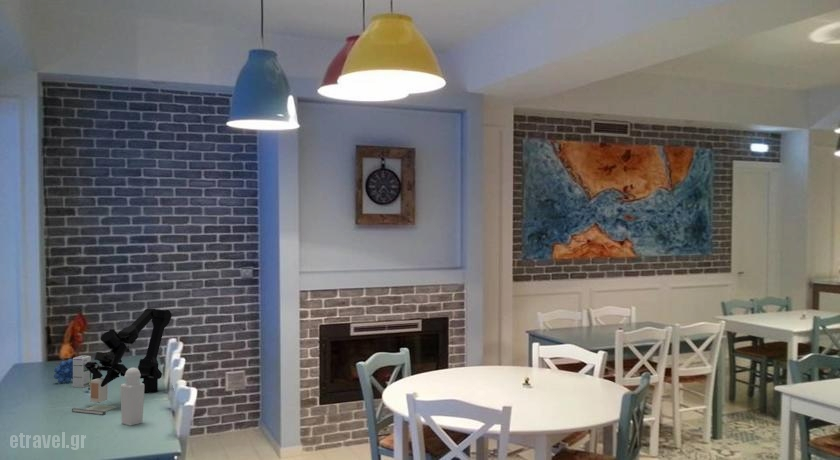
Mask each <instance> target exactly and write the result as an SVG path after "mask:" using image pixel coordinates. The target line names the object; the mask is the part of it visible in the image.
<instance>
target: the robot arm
mask: <svg viewBox="0 0 840 460" xmlns="http://www.w3.org/2000/svg"><path fill="white" fill-rule="evenodd" d="M172 314H173V313H172V312H171V310H170V309H160V308H158V309H156V308H149V307H148V308H147V307H146V308H145V309H144V311H143V313H141V314H140V315H139V316H138V317H137V318H136V319H135V320H134V321H133V322H132V323H131V324H130V325H129V326H126V327H124V328H123V329H121V330H120V331H118V332H117V331H116V330H115V329H113V328H110V329H109V331H106V332H104V333H103V334H102V335H100V341H101V342H102V343H103V344H104V345H105V347H107V349H109V351H107V352H100V351H99V352H97V351H96V353H95V356H94V360H95V361H94V360H93V361H91V362H87V364H86V365H85V367H86V368H87V369H88V370H89V371H90V372H91V375H92V376H91V380H94V379H97V378H102V377H103V376H104V375H103V374H102V371H104V372H106V375H105V377H104V380H103V382H102V384H101V387H103V386H105V385H106V384H107V385H108V384H110V383H111V382H112V381H113V380H115V379H116V380H117V379H118V378H120V377H124V376H125V373H126V371H127V370H128V369H129V368H128V367H126V365H124V363H123V364H122V362H123V361H122V358H123V357H124V355H125V353H130V352H131V350H130V346H129V344H131V345H132V344H134V343H135V342H136V341H137V339H138V338H139V336H140V335H139V334H140V332H141V331H142V330H143V329H144V328H145V327H146V326H147V325H148V324H149V323H150V321H151V324H152V326H153V327H152V331H151V335H150V338H149V341H148V342H149V343H148V346H147V349H146V353H145V356H144V358H140V359H139V363H138V366H137V369H138V370H139V371H140V374H141V376H140V378H139V379H143V380H142V381H141V383H143V384H144V385H145V386H144V394H147V393H157V392H158V391H159V379H161V378H162V376H163V373H162V371H161V370H160V369H159V361H158V359H157V358H158V355H159V350H160V347H161V343H162V338H163V336H164V335H163V334H164V331H165V328H166V327H168V325H169V324H170V322H171V319H172V316H173V315H172ZM97 361H98V362H99V364H100V365H99V364H98V362H97Z"/></svg>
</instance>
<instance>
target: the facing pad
mask: <svg viewBox="0 0 840 460" xmlns="http://www.w3.org/2000/svg"><path fill="white" fill-rule="evenodd" d="M117 408H118V406H115V405H106V404H105V405H104V404H95V405H93V406H90V407H89V406H88V407H87V408H85V409H88V410H97V411H106V412H109V411H111V410H114V409H117Z"/></svg>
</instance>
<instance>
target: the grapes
mask: <svg viewBox="0 0 840 460" xmlns="http://www.w3.org/2000/svg"><path fill="white" fill-rule="evenodd" d="M54 372H55V373H54V375H53V378H54V380H57V383H58V384H63V383H65V384H69V383H70V382H72V380H73V358H69V359H67V360H66V361H65V360H62V361H60V362H59V366H56V367H55V368H54Z"/></svg>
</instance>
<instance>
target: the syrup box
mask: <svg viewBox="0 0 840 460" xmlns="http://www.w3.org/2000/svg"><path fill="white" fill-rule="evenodd" d="M72 360H73V379H72V387H73V388H78V387H81V388H83V387H84V388H86V387H89V386H90V385H89V383H90V380H92V373H91V372H90V371H89V370H88V369H87V368H86V367H85V365H86V364H87V362H92V356H91V355H79V356H75V357H73V358H72ZM88 385H89V386H88ZM81 388H80V389H81Z"/></svg>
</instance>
